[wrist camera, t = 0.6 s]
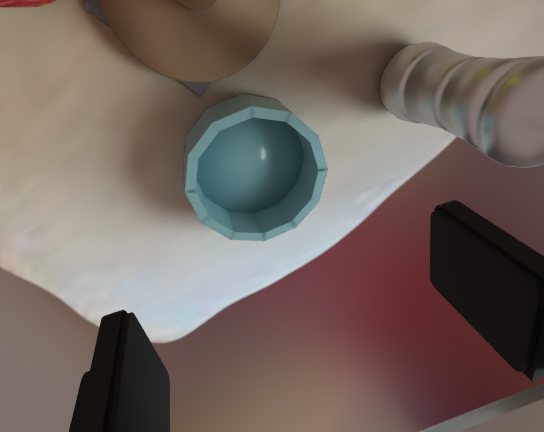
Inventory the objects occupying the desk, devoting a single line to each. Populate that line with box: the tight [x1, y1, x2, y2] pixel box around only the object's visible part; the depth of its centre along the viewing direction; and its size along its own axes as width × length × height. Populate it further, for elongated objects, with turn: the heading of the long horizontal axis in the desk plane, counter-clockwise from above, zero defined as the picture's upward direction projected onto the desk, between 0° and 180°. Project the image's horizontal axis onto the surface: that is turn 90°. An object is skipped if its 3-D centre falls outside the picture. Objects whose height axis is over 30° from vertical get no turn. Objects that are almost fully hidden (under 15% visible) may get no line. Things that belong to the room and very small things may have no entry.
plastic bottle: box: [380, 42, 544, 167], centre depth 26 cm, size 6×7×20 cm
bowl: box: [183, 94, 328, 241], centre depth 33 cm, size 12×12×5 cm
